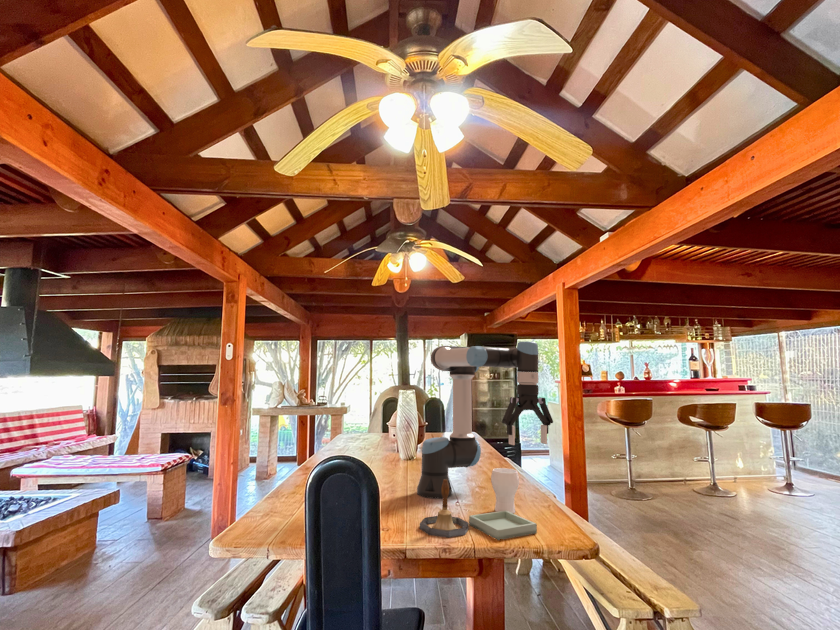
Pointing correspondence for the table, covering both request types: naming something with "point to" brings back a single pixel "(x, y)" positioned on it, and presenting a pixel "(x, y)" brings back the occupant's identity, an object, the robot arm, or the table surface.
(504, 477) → the cup
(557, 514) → the table surface
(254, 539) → the table surface
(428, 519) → the collar
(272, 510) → the table surface
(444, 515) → the hand bell
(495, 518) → the green square tray
